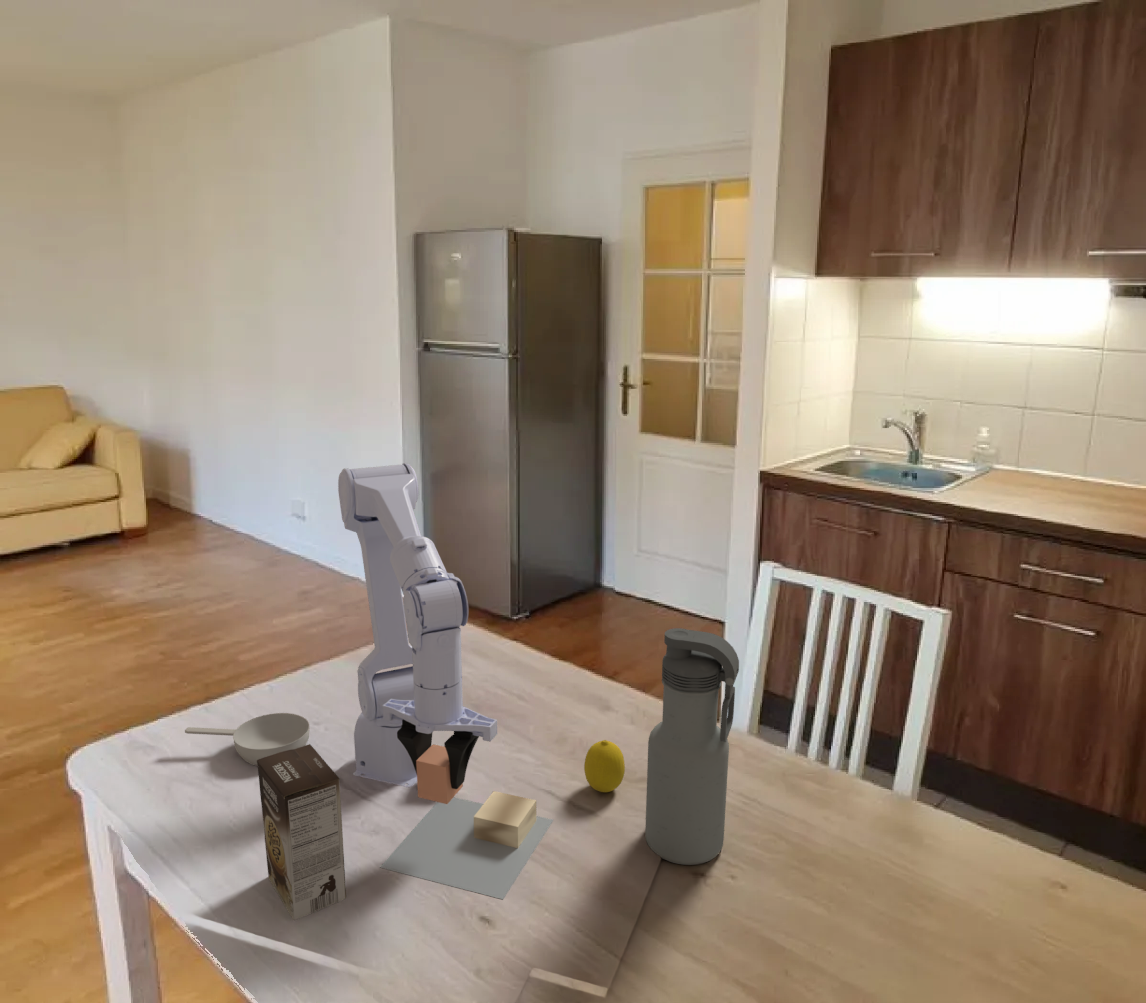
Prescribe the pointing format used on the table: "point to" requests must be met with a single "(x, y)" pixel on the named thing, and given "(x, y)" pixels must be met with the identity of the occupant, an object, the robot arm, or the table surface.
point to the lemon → (604, 766)
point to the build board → (462, 851)
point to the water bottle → (690, 749)
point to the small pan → (264, 735)
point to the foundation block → (505, 819)
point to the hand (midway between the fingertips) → (441, 780)
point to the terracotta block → (435, 775)
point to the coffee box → (302, 829)
